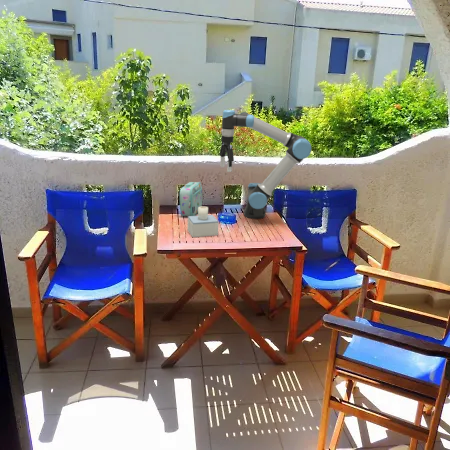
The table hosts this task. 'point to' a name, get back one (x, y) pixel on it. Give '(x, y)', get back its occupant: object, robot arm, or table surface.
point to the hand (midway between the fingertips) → (225, 169)
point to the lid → (210, 220)
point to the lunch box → (190, 198)
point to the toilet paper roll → (202, 213)
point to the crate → (202, 229)
